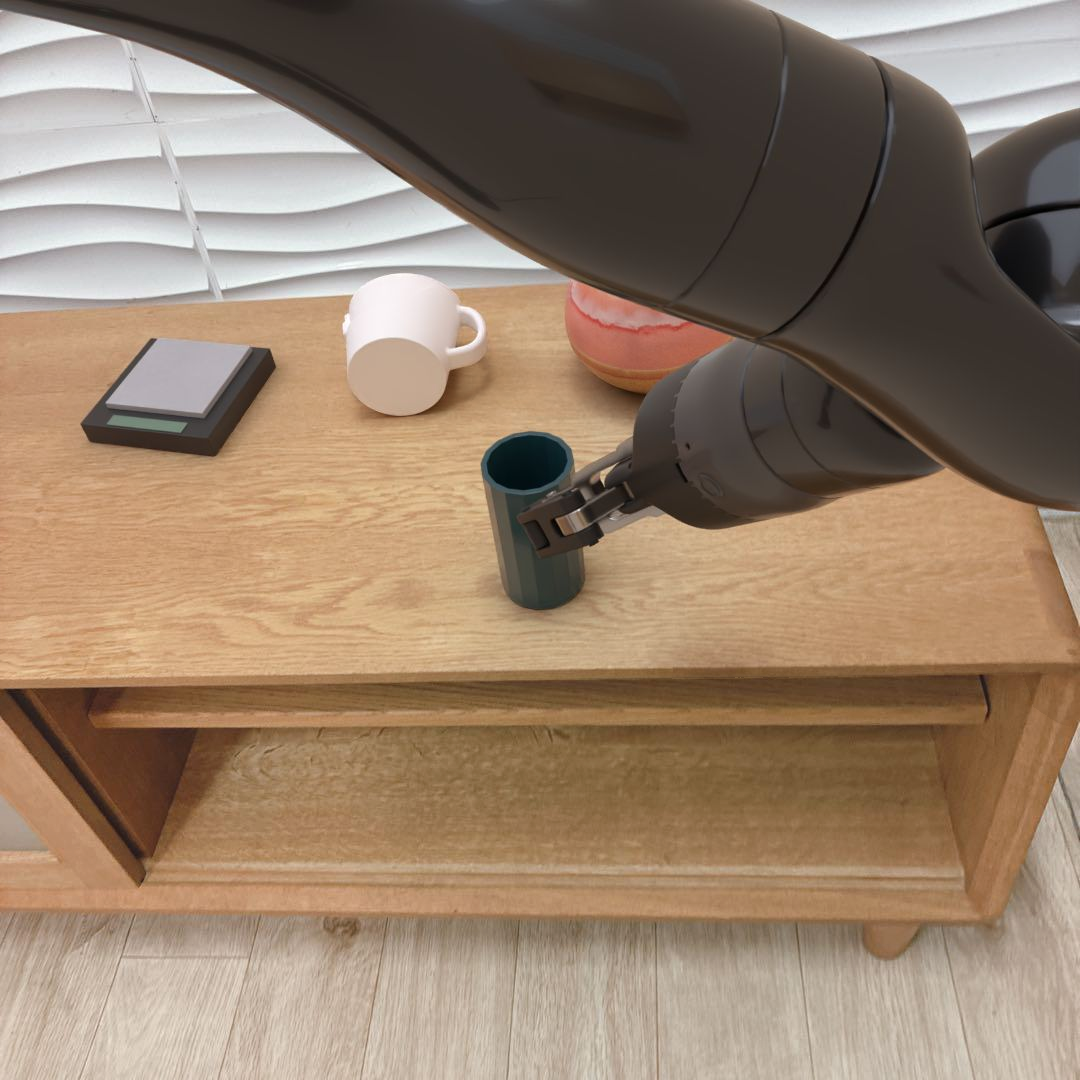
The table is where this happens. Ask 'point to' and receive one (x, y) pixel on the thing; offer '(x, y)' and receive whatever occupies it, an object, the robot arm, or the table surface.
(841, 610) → the table surface
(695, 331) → the vase
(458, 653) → the table surface
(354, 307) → the mug
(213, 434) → the scale
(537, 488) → the cup
